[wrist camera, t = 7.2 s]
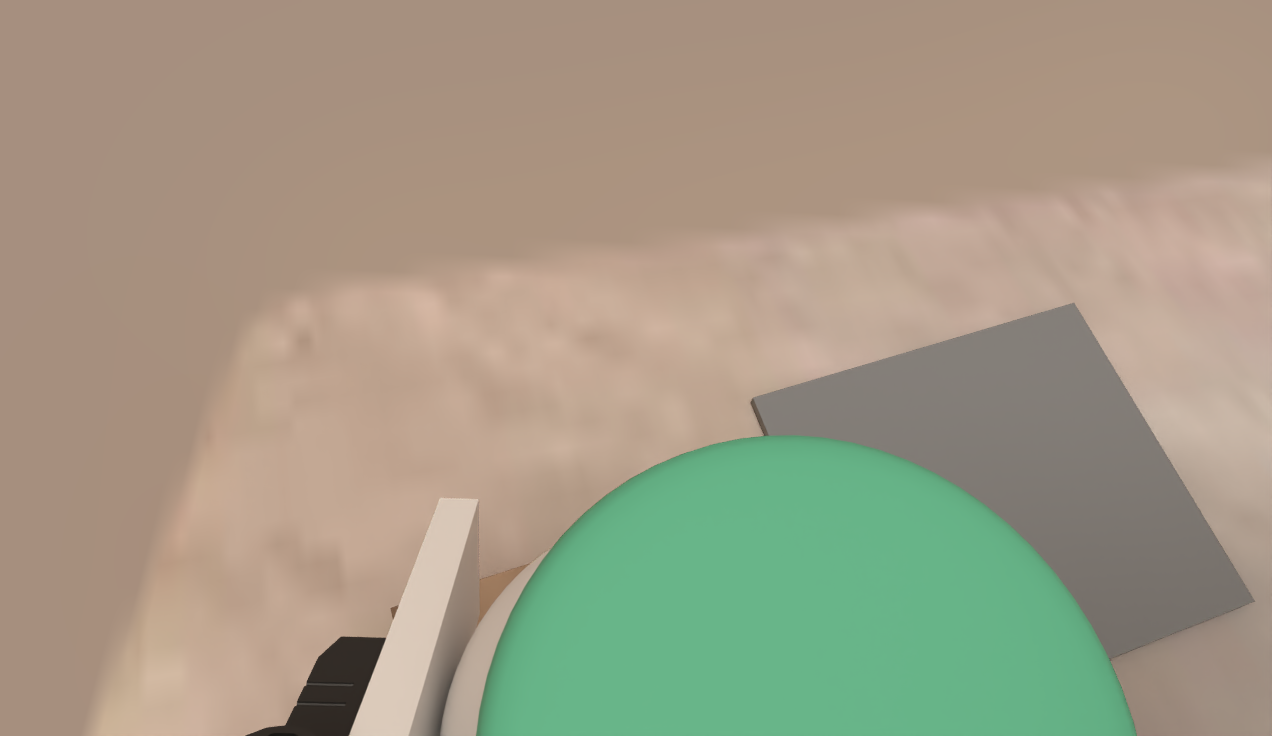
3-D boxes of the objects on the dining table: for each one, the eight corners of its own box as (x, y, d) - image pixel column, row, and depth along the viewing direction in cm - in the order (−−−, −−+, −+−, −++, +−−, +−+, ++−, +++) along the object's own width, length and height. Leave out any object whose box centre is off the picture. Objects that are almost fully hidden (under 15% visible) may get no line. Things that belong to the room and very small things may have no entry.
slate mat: (1068, 307, 39) (1074, 302, 38) (1245, 603, 34) (1254, 601, 33) (750, 402, 36) (752, 397, 35) (892, 743, 31) (897, 743, 30)
